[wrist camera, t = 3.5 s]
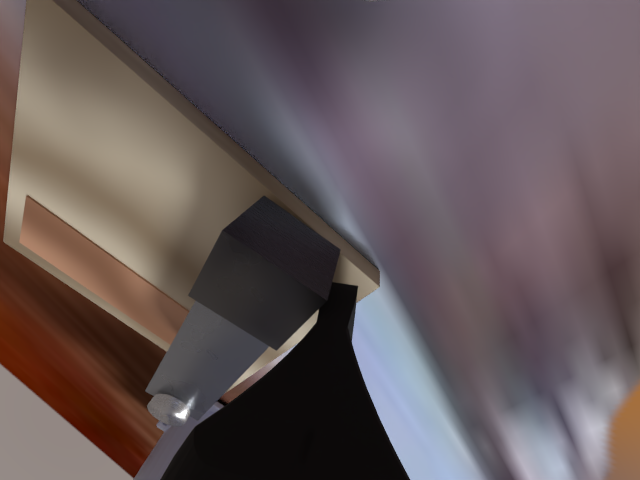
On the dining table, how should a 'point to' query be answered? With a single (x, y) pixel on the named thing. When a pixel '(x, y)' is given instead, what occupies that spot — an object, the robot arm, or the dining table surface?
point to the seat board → (130, 179)
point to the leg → (242, 308)
